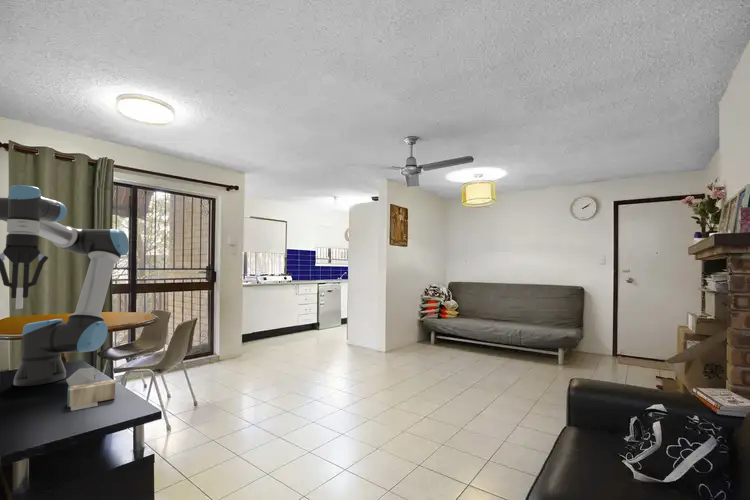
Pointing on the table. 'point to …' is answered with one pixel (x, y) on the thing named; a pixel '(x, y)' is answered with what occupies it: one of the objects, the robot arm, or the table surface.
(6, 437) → the table surface
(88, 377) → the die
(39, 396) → the table surface
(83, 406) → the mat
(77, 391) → the block
